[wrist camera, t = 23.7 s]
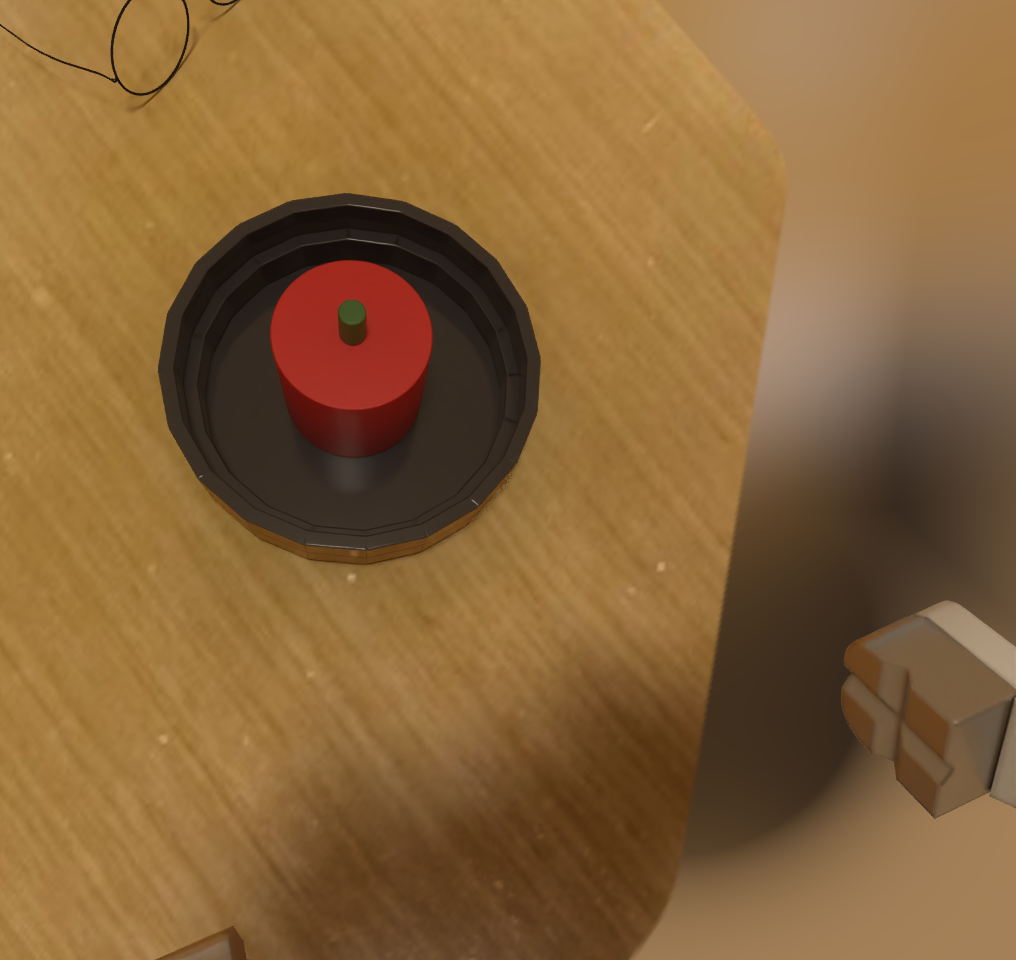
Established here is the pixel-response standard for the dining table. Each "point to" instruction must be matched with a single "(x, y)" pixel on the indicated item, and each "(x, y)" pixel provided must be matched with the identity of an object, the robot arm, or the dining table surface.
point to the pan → (261, 404)
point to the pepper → (351, 356)
